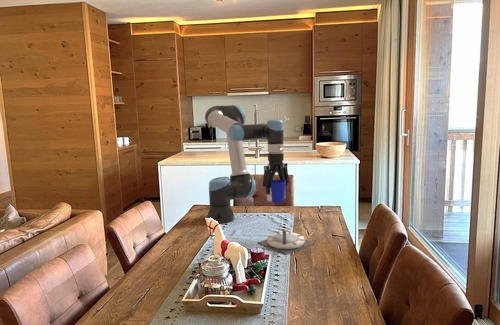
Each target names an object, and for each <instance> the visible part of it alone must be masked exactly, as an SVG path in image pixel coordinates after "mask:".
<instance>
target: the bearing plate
mask: <svg viewBox="0 0 500 325" xmlns="http://www.w3.org/2000/svg"><path fill="white" fill-rule="evenodd" d="M285 230H286V232H289V231H288V229H285ZM257 243H258V244H259V245H261V246H263V245H264V247H266V248H268V247H269V249H271V250H273V249H274V251H276V252H278V253H281V254H283V253H284V255H286V254H287V255H289V254H291V253H294V252H297V251H299V250H302V249H303V250H304V249H305V248H308V247H310V246H314V245H315V243H314V242H313V241H310V240H308V239H307V240H306V239H305V244H304V245H303V246H301V247H299V248H295V249H279V248H275V247H272V246H270V245H269V244H268V243H267V239H263V240H260V241H258V242H257Z"/></svg>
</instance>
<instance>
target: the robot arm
mask: <svg viewBox="0 0 500 325" xmlns="http://www.w3.org/2000/svg"><path fill="white" fill-rule="evenodd" d="M204 120H205V123H206V124H207V125H208V126H210V127H212V128H217V129H219V130H220V131H222V132H224V133H226V140H227V147H228V153H229V161H230V168H231V174H230V175H229V176H219V177H215V178H212V179H210V181H209V182H208V194H209V196H208V198H209V202H208V203H209V208H208V212H207V214H206V219H207V218H210V217H211V218H213V219H214V220H216V221H218V222H219V223H218V224H226V223H230V222H233V221H234V220H235V216H234V212H233V208H232V206H231V201H232V200H233V201H234V200H240V199H247V198H251V197H252V196H253V195H254V194H255V192H256V180H255V178H254V177H253V176H251V173H250V172H249V171H248V170H247V163H246V157H245V151H244V143H243V141H255V140H267V152H268V153H267V161H268V165H264V166H263V178H262V179H263V180H262V187H263V188H265V192H266V201H267V202H271V201H272V192H271V188H270V187H271V183H272V181H273V180H274V177H275V175H276V173H277V175H278V179H279V180H284V181H286V184H285V192H286V190H287V185H288V184H289V183H290V179H289V171H288V165H289V164H288V162H284V160H285V158H284V153H283V152H284V129H285V128H284V121H283V120H281V119H270V120H269V119H268V120H267V122H266V123H256V124H255V123H254V124H246V113H245V110H244V109H243V107H241V106H240V105H234V104H232V105H231V104H230V105H213V106H211V107H210V108H208V109H207V110H206V112H205V115H204Z"/></svg>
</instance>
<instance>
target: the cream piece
mask: <svg viewBox="0 0 500 325" xmlns="http://www.w3.org/2000/svg"><path fill="white" fill-rule="evenodd" d="M286 230H287V229H283V230H282V232H274V233H272V234H270V235H267V243H268V244H269V245H270V246H272V247H275V248H279V249H295V248H299V247H301V246H303V245H304V244H305V240H306V238H305V236H304V235H302V234H301V233H300V234H299V233H297V232H292V231H288V232H286Z"/></svg>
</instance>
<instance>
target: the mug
mask: <svg viewBox="0 0 500 325" xmlns="http://www.w3.org/2000/svg"><path fill="white" fill-rule="evenodd" d="M285 184H286V181H284V180H280V179H273V181H272V183H271V187H270V188H271V192H272V201H270V202H272V203H273V204H281V203H284V202H285V199H286V191H285Z"/></svg>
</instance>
